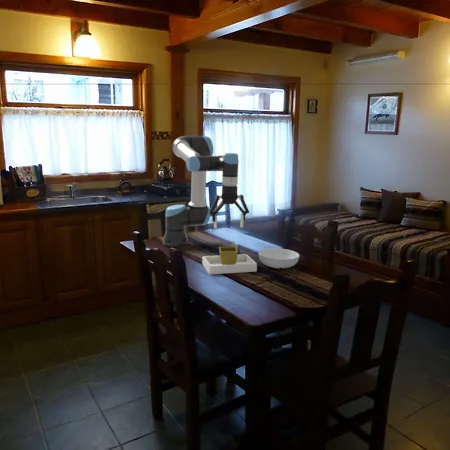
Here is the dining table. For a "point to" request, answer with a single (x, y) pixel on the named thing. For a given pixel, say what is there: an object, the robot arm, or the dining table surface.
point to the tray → (242, 265)
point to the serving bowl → (278, 257)
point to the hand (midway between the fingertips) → (228, 227)
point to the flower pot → (228, 255)
